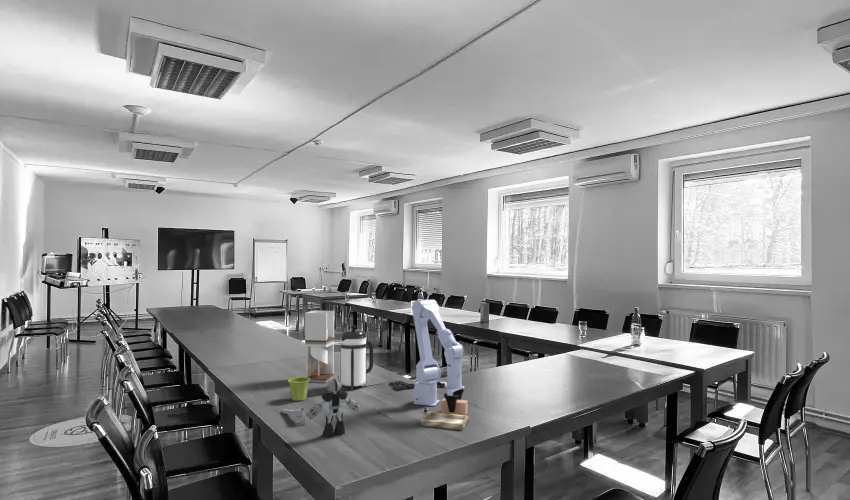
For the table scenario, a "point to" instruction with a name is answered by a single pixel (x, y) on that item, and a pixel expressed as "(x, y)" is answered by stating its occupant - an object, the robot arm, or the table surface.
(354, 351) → the coffee press
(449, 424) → the wooden tray
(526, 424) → the table surface
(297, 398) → the plant pot
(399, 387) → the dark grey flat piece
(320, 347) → the white and brown tower
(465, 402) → the salmon orange block
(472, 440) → the table surface
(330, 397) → the robot
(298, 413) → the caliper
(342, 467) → the table surface
